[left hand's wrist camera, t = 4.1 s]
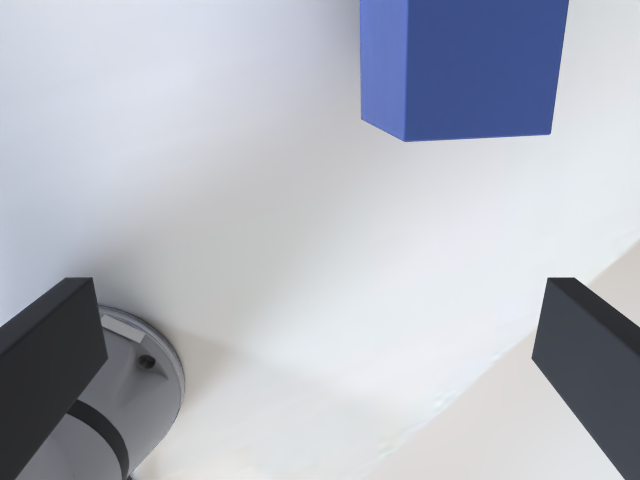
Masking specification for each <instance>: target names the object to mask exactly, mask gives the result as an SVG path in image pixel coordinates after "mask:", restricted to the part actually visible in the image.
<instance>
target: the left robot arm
mask: <svg viewBox="0 0 640 480" xmlns="http://www.w3.org/2000/svg"><path fill="white" fill-rule="evenodd" d="M532 360H533V361H534V362H535V364H536V365H537V366H538V367H539V369H540V370H541V371H542V373H543V374H544V375H545V377H546V378H547V379H548V380H549V382H550V383H551V384H552V386H553V387H554V388H555V390H556V391H557V392H558V393H559V395H560V396H561V397H562V399H563V400H564V401H565V402H566V404H567V405H568V406H569V408H570V409H571V410H572V412H573V413H574V414H575V415H576V417H577V418H578V419H579V421H580V422H581V423H582V425H583V426H584V427H585V428H586V430H587V431H588V432H589V434H590V435H591V436H592V438H593V439H594V440H595V441H596V443H597V444H598V445H599V447H600V448H601V449H602V451H603V452H604V453H605V454H606V456H607V457H608V458H609V460H610V461H611V462H612V464H613V465H614V466H615V467H616V469H617V470H618V471H619V473H620V474H621V475H622V476H623V478H624V479H625V480H640V327H638V326H637V325H636V324H634V323H633V322H632V321H631V320H629V319H628V318H627V317H625V316H624V315H623V314H621V313H620V312H619V311H617V310H616V309H615V308H614V307H612V306H611V305H610V304H608V303H607V302H606V301H604V300H603V299H602V298H600V297H599V296H598V295H596V294H595V293H594V292H593V291H591V290H590V289H589V288H587V287H586V286H585V285H583V284H582V283H581V282H579V281H578V280H577V279H576V278H548V279H547V284H546V289H545V294H544V299H543V304H542V309H541V314H540V319H539V324H538V329H537V334H536V339H535V344H534V349H533V354H532ZM184 390H185V380H184V373H183V370H182V366H181V363H180V361H179V359H178V357H177V355H176V353H175V351H174V350H173V348H172V347H171V345H170V344H169V343H168V342H167V340H166V339H165V338H164V337H163V336H162V335H161V334H160V333H159V332H158V331H156V330H155V329H154V328H153V327H152V326H150V325H149V324H147V323H146V322H144V321H143V320H141V319H139V318H137V317H135V316H133V315H131V314H129V313H126V312H124V311H121V310H118V309H114V308H111V307H106V306H100V305H98V304H97V299H96V294H95V289H94V284H93V279H92V278H64V279H63V280H62V281H61V282H59V283H58V284H57V285H55V286H54V287H53V288H51V289H50V290H49V291H47V292H46V293H45V294H44V295H42V296H41V297H40V298H38V299H37V300H36V301H34V302H33V303H32V304H30V305H29V306H28V307H26V308H25V309H24V310H23V311H21V312H20V313H19V314H17V315H16V316H15V317H13V318H12V319H11V320H9V321H8V322H7V323H5V324H4V325H3V326H2V327H0V480H132V479H131V477H130V474H131V473H132V471H133V470H134V469H135V468H136V467H137V466H138V465H139V464H140V463H141V462H142V461H143V460H144V459H145V457H146V456H147V455H148V454H149V453H150V452H151V451H152V450H153V449H154V448H155V447H156V446H157V444H158V443H159V442H160V441H161V440H162V439H163V438H164V437H165V435H166V434H167V432H168V431H169V429H170V428H171V426H172V424H173V423H174V421H175V419H176V417H177V415H178V412H179V409H180V407H181V404H182V401H183V397H184Z"/></svg>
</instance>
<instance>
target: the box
mask: <svg viewBox="0 0 640 480" xmlns="http://www.w3.org/2000/svg"><path fill="white" fill-rule="evenodd" d="M568 4H569V0H360V54H361V119H362V120H364V121H366V122H368V123H370V124H372V125H373V126H375V127H377V128H379V129H381V130H383V131H385V132H387V133H389V134H391V135H393V136H395V137H396V138H398V139H400V140H402V141H404V142H414V141H434V140H454V139H475V138H495V137H515V136H535V135H549V134H550V133H551V127H552V120H553V113H554V106H555V98H556V91H557V84H558V76H559V69H560V62H561V55H562V47H563V40H564V33H565V26H566V18H567V11H568Z"/></svg>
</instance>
